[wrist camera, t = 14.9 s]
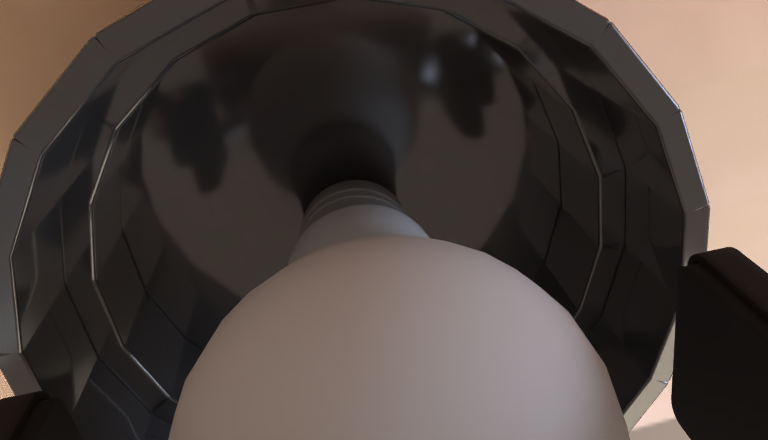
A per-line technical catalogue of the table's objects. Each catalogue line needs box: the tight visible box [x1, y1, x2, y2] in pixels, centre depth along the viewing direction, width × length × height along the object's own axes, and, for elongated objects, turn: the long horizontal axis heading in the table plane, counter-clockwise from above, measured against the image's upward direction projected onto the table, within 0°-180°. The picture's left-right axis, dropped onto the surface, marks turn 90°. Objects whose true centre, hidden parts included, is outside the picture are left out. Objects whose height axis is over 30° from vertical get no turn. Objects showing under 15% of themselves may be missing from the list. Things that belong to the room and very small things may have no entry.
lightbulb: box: [168, 180, 630, 440], centre depth 11 cm, size 6×6×11 cm
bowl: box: [0, 0, 710, 440], centre depth 14 cm, size 13×13×6 cm
